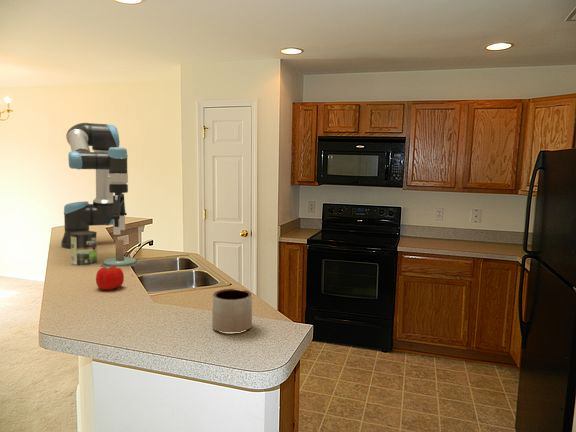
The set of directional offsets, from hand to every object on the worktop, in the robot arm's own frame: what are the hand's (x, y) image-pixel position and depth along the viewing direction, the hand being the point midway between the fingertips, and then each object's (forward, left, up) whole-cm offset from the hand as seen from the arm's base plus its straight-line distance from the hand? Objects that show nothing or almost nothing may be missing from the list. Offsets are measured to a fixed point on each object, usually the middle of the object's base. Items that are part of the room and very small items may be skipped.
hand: (119, 232), depth 183 cm
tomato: (+38, +2, -15) cm, 40 cm away
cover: (0, 0, -14) cm, 14 cm away
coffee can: (-1, -15, -15) cm, 21 cm away
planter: (+82, +41, -15) cm, 93 cm away
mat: (0, 0, -14) cm, 14 cm away
